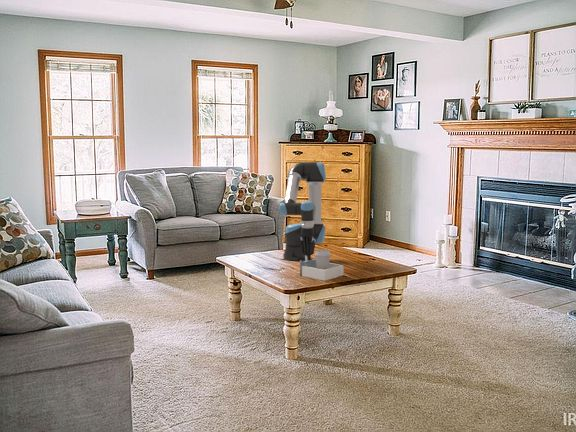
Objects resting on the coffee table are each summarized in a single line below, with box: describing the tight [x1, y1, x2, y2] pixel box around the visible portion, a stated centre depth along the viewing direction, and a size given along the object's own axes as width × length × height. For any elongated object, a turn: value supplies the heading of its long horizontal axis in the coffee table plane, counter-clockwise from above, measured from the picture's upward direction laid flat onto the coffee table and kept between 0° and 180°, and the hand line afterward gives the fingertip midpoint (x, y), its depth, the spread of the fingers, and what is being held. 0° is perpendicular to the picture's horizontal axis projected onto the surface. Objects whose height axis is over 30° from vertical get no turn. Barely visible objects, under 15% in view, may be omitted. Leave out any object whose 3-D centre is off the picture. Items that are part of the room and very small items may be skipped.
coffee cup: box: [314, 248, 332, 270], centre depth 335 cm, size 10×10×15 cm
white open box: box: [299, 260, 344, 282], centre depth 336 cm, size 19×18×9 cm
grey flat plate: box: [302, 258, 316, 268], centre depth 342 cm, size 13×1×7 cm, turn 136°
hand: (307, 265), depth 344 cm, fingers closed
